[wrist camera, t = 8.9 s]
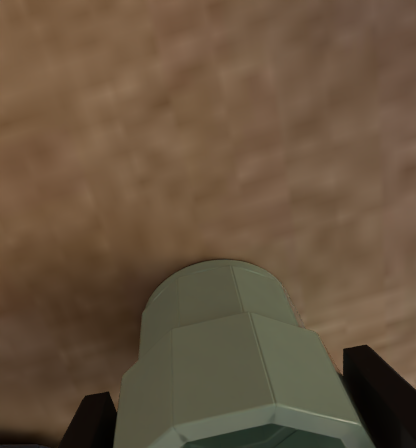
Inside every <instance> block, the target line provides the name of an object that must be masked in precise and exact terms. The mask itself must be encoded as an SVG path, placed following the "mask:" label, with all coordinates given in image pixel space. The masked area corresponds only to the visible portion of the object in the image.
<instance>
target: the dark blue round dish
mask: <svg viewBox="0 0 416 448" xmlns="http://www.w3.org/2000/svg"><path fill="white" fill-rule="evenodd" d="M0 448H52V447H48V446H43V445H38V444H12V445H0Z"/></svg>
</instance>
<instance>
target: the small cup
mask: <svg viewBox="0 0 416 448" xmlns="http://www.w3.org/2000/svg"><path fill="white" fill-rule="evenodd" d="M113 448H378V446H377V444H376V442H375V440H374V438H373V436H372V434H371V432H370V430H369V428H368V426H367V424H366V421H365V419H364V417H363V415H362V413H361V411H360V409H359V407H358V405H357V403H356V401H355V399H354V397H353V395H352V393H351V391H350V389H349V387H348V385H347V383H346V381H345V379H344V377H343V375H342V374H341V372H340V370H339V369H338V367H337V365H336V364H335V362H334V360H333V359H332V357H331V355H330V353H329V352H328V350H327V348H326V347H325V345H324V343H323V342H322V340H321V338H320V337H319V335H318V334H317V333H316V332H314V331H311V330H308V329H306V328H305V326H304V323H303V321H302V319H301V317H300V315H299V313H298V311H297V310H296V308H295V306H294V305H293V303H292V301H291V299H290V297H289V295H288V293H287V291H286V289H285V288H284V286H283V285H282V284H281V282H280V281H279V280H278V279H277V278H275V277H274V276H273V275H272V274H270V273H269V272H268V271H266V270H264V269H262V268H260V267H258V266H256V265H253V264H250V263H247V262H242V261H238V260H211V261H205V262H200V263H196V264H193V265H191V266H188V267H186V268H183V269H181V270H179V271H177V272H176V273H174V274H173V275H171V276H170V277H168V278H167V279H166V280H165V281H164V282H162V283H161V284H160V285H159V286H158V288H157V289H156V290H155V291H154V292H153V294H152V295H151V297H150V298H149V300H148V302H147V304H146V306H145V309H144V311H143V313H142V318H141V331H140V343H139V355H138V361H137V362H136V363H135V364H134V365H133V366H132V367H131V368H130V369H128V370H127V371H126V372H125V373H124V374H123V376H122V379H121V387H120V395H119V403H118V411H117V419H116V427H115V435H114V443H113Z"/></svg>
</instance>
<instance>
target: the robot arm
mask: <svg viewBox="0 0 416 448" xmlns="http://www.w3.org/2000/svg"><path fill="white" fill-rule="evenodd" d="M343 377H344V379H345V381H346V383H347V385H348V387H349V389H350V391H351V393H352V395H353V397H354V399H355V401H356V403H357V405H358V407H359V409H360V411H361V413H362V415H363V417H364V419H365V421H366V424H367V426H368V428H369V430H370V432H371V434H372V436H373V438H374V440H375V442H376V444H377V446H378V448H416V389H414V388H413V387H412V386H411V385H410V384H409V383H408V382H407V381H406V380H405V379H403V378H402V377H401V376H400V375H399V374H398V373H397V372H396V371H395V370H394V369H393V368H392V367H390V366H389V365H388V364H387V363H386V362H385V361H384V360H383V359H382V358H381V357H380V356H379V355H378V354H377V353H376V352H375V351H374V350H373V349H371V348H370V347H369V346H368V345H362V346H356V347H351V348H345V349H343ZM116 419H117V412H116V409H115V407H114V404H113V401H112V399H111V396H110V394H109V392H104V393H98V394H93V395H87V396H85V397H84V398H83V400H82V401H81V403H80V405H79V407H78V409H77V411H76V413H75V415H74V417H73V419H72V421H71V423H70V425H69V427H68V429H67V431H66V433H65V435H64V436H63V438H62V440H61V442H60V444H59V446H58V448H113V443H114V435H115V427H116Z"/></svg>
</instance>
